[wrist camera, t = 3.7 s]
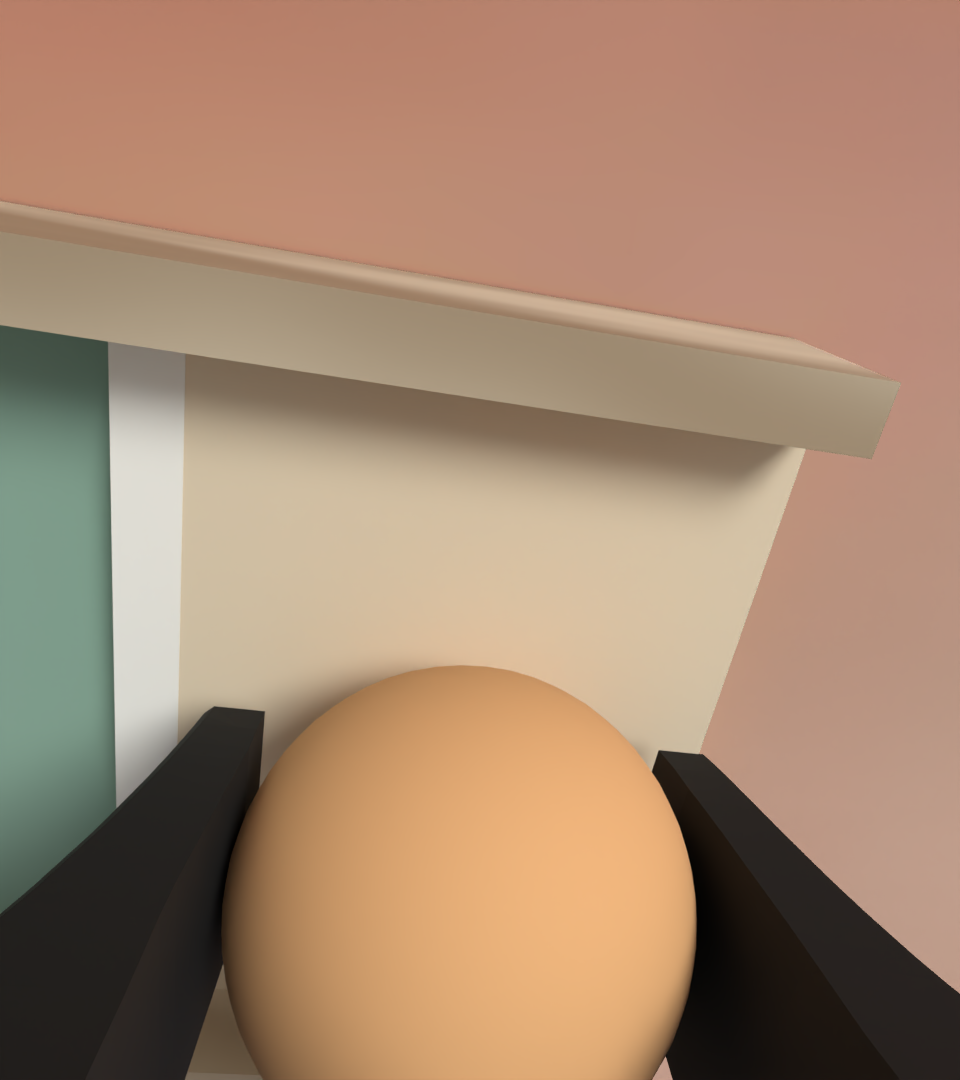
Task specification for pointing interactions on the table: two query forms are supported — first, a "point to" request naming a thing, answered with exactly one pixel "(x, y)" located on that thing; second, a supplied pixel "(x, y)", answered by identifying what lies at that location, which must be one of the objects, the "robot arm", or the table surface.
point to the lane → (334, 562)
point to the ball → (459, 892)
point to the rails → (420, 359)
